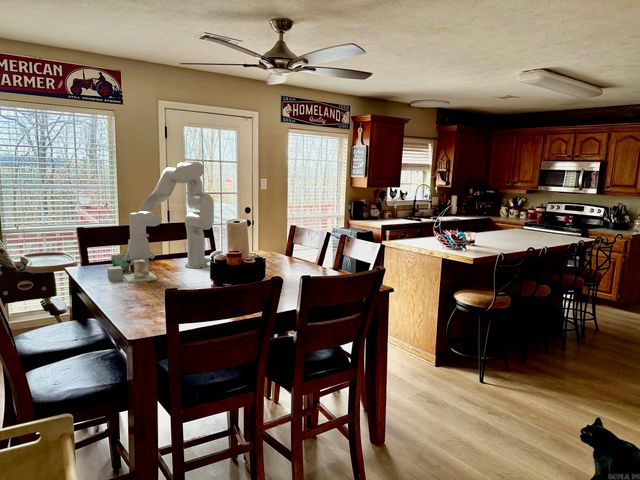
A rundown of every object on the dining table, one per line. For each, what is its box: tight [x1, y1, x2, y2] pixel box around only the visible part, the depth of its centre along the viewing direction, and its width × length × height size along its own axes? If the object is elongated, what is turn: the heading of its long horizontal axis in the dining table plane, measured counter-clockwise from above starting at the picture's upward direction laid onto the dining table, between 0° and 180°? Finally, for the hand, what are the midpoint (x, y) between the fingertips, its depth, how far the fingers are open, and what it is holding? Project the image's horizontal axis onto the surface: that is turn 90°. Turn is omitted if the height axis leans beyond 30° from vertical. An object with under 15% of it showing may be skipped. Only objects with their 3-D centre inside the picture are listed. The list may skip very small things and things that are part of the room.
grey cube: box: [106, 266, 124, 282], centre depth 223 cm, size 6×6×6 cm
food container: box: [110, 250, 130, 273], centre depth 240 cm, size 12×6×10 cm, turn 168°
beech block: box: [130, 259, 150, 277], centre depth 225 cm, size 6×12×6 cm, turn 34°
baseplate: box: [123, 271, 158, 284], centre depth 226 cm, size 14×14×1 cm
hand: (139, 271), depth 226 cm, fingers closed on beech block, 6 cm apart
